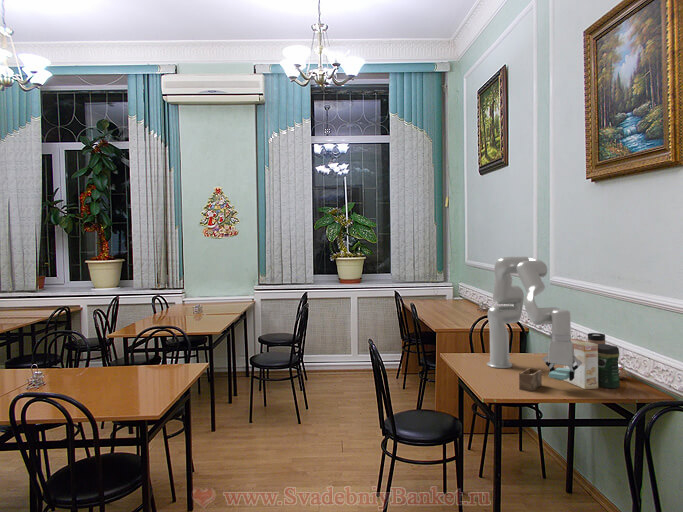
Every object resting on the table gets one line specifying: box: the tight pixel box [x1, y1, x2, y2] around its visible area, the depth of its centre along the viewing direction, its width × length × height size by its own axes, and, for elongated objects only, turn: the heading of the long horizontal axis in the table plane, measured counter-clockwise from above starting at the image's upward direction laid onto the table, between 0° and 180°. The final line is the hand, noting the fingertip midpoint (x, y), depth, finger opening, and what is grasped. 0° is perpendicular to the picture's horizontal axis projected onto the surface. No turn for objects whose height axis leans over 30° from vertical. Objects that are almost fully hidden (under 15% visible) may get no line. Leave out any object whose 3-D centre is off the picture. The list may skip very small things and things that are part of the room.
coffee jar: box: [598, 343, 621, 389], centre depth 221 cm, size 10×8×19 cm
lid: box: [548, 367, 575, 381], centre depth 216 cm, size 13×7×3 cm, turn 139°
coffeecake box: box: [563, 338, 599, 390], centre depth 224 cm, size 15×7×20 cm, turn 10°
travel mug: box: [587, 332, 606, 344], centre depth 238 cm, size 8×8×20 cm
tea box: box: [518, 367, 543, 392], centre depth 221 cm, size 12×6×7 cm, turn 140°
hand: (562, 378), depth 216 cm, fingers closed on lid, 7 cm apart
